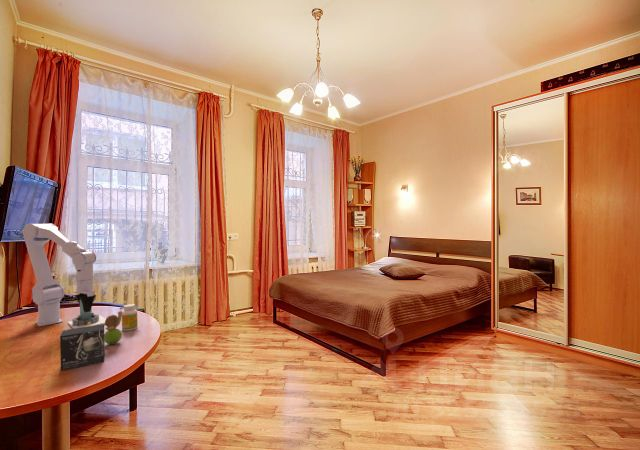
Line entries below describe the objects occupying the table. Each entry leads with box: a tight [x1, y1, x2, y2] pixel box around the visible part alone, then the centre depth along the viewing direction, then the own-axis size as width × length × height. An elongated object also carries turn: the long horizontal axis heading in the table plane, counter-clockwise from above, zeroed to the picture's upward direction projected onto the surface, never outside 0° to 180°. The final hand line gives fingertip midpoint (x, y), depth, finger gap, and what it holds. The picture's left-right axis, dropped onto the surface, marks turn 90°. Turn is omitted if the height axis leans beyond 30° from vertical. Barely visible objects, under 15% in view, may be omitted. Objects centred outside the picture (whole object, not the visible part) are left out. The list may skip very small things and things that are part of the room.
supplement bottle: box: [121, 303, 138, 332], centre depth 126 cm, size 5×5×10 cm
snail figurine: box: [104, 307, 124, 345], centre depth 111 cm, size 5×6×12 cm
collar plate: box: [67, 314, 107, 329], centre depth 135 cm, size 15×12×3 cm
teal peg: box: [77, 300, 95, 319], centre depth 134 cm, size 4×5×8 cm
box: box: [59, 324, 106, 372], centre depth 96 cm, size 11×7×10 cm, turn 123°
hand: (85, 310), depth 134 cm, fingers closed on teal peg, 4 cm apart
